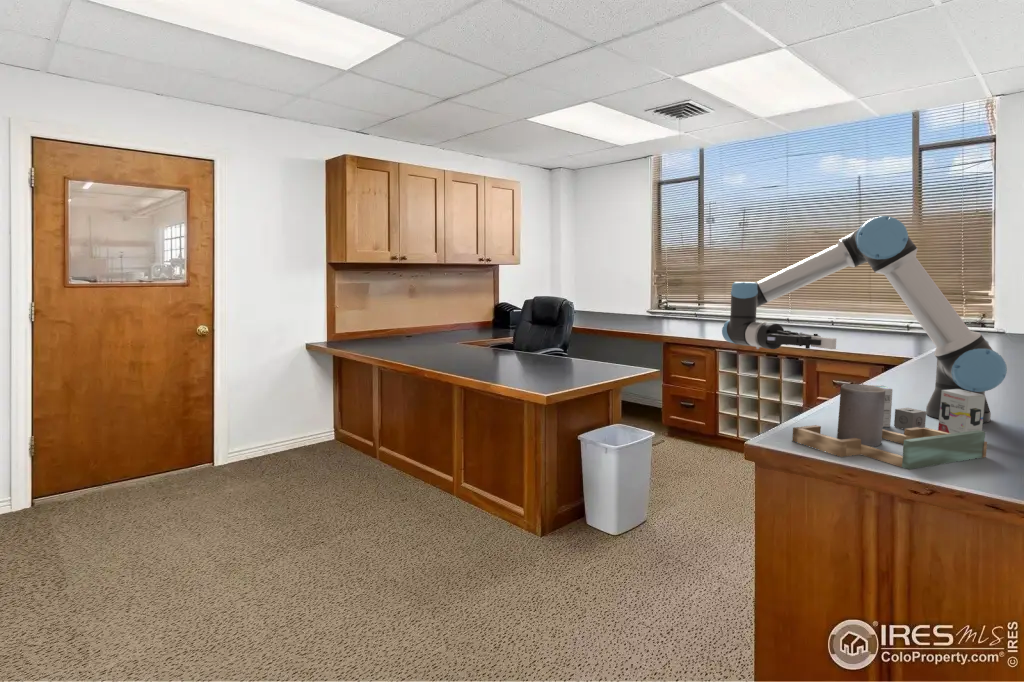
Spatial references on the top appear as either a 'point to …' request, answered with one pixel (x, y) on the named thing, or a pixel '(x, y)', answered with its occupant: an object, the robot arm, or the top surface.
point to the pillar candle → (861, 413)
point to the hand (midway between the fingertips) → (833, 343)
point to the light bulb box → (886, 405)
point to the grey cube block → (909, 418)
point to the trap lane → (917, 449)
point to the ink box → (961, 411)
